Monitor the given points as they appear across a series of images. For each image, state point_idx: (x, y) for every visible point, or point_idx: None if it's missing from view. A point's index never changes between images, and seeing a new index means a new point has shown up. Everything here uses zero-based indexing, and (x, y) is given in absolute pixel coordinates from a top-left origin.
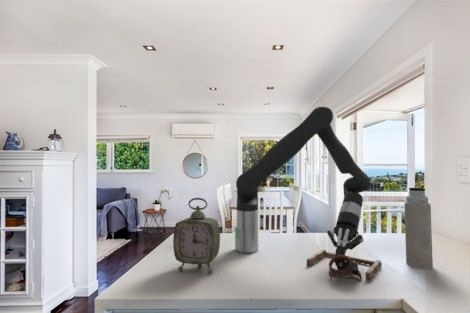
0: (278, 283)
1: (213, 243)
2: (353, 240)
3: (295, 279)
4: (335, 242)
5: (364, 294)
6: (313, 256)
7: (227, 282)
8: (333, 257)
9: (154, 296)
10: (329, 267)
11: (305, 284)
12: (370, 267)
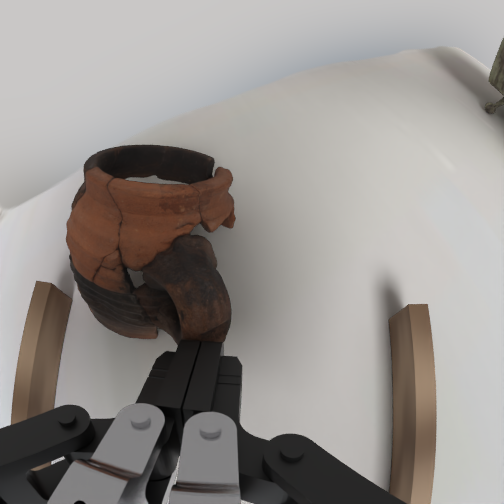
0: (362, 113)
1: (501, 43)
2: (4, 455)
3: (346, 153)
4: (266, 447)
5: None
6: (425, 389)
7: (435, 90)
8: (207, 187)
9: (435, 49)
10: (231, 197)
11: (293, 136)
12: (28, 382)
